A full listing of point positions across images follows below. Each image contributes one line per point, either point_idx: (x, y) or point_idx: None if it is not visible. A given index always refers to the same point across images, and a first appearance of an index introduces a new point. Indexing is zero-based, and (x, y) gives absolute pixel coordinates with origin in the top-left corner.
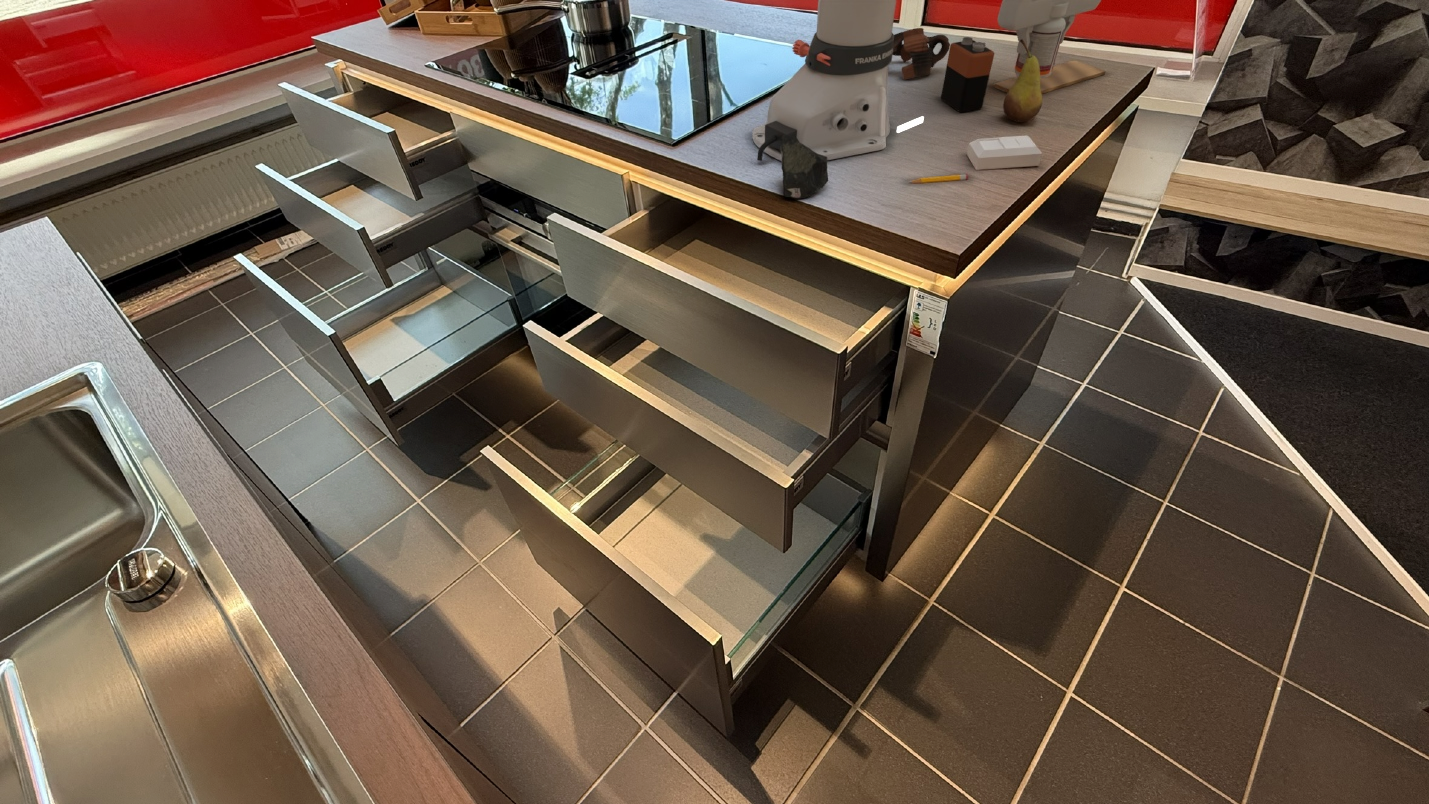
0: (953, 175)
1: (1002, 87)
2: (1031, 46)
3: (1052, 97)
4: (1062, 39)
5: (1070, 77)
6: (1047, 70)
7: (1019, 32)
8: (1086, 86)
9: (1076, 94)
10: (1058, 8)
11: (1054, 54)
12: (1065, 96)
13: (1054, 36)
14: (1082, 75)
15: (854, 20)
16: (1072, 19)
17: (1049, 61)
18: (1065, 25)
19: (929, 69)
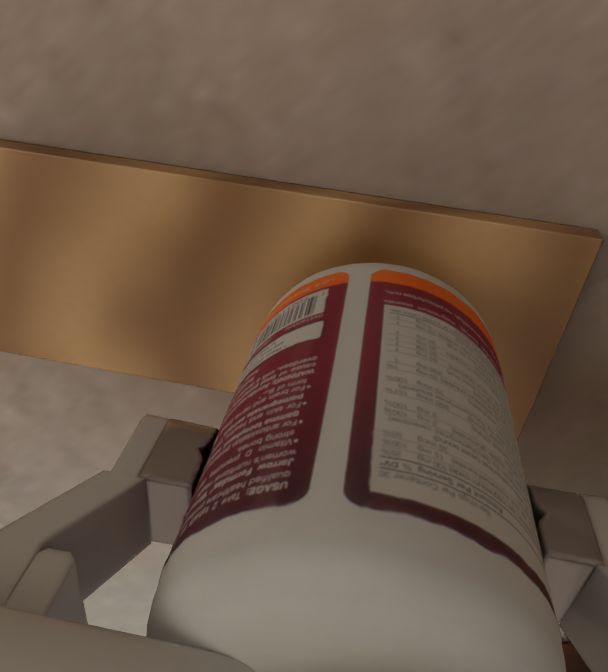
0: None
1: (534, 394)
2: (552, 524)
3: (433, 120)
4: (145, 437)
5: (115, 213)
6: (406, 286)
7: None
8: (96, 77)
9: (264, 33)
10: None
11: (370, 346)
12: (353, 66)
13: (442, 490)
14: (26, 182)
15: None
16: (7, 560)
17: (409, 325)
18: (83, 538)
19: (575, 668)
